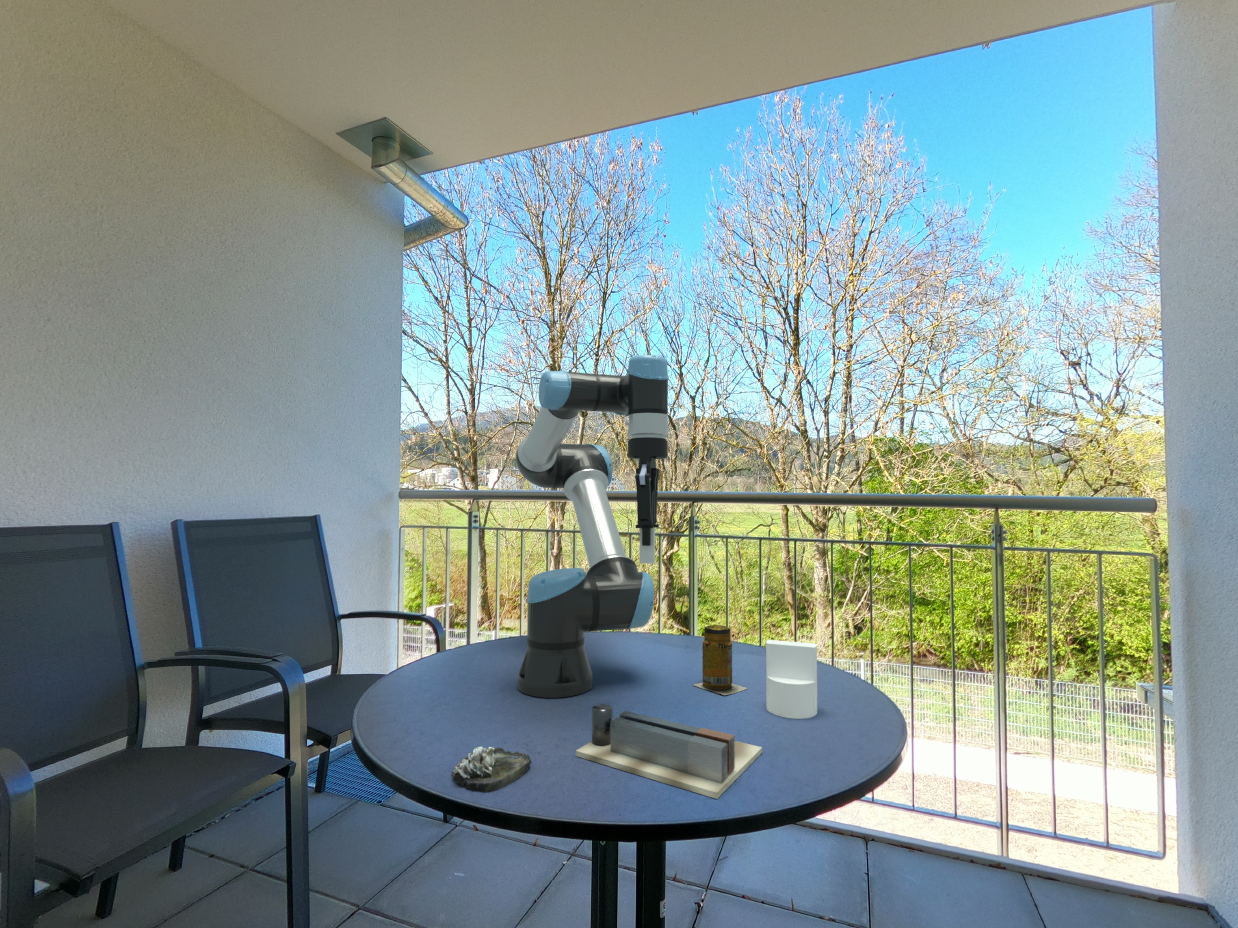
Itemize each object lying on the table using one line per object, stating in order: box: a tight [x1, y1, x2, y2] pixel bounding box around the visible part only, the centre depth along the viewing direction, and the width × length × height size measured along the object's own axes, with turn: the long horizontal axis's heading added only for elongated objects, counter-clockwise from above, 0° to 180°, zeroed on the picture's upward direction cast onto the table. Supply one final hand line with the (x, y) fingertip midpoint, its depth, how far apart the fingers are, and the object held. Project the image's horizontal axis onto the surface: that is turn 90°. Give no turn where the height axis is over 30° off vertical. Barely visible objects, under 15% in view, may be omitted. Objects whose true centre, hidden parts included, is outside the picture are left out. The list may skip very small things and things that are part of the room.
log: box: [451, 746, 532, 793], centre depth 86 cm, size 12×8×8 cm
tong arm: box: [618, 710, 736, 774], centre depth 89 cm, size 18×2×5 cm, turn 58°
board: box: [575, 740, 763, 800], centre depth 92 cm, size 23×17×1 cm
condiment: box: [693, 624, 748, 696], centre depth 124 cm, size 7×8×12 cm
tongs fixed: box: [591, 703, 727, 784], centre depth 89 cm, size 23×4×5 cm, turn 57°
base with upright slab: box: [765, 639, 818, 720], centre depth 112 cm, size 9×9×12 cm
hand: (647, 562), depth 114 cm, fingers closed
